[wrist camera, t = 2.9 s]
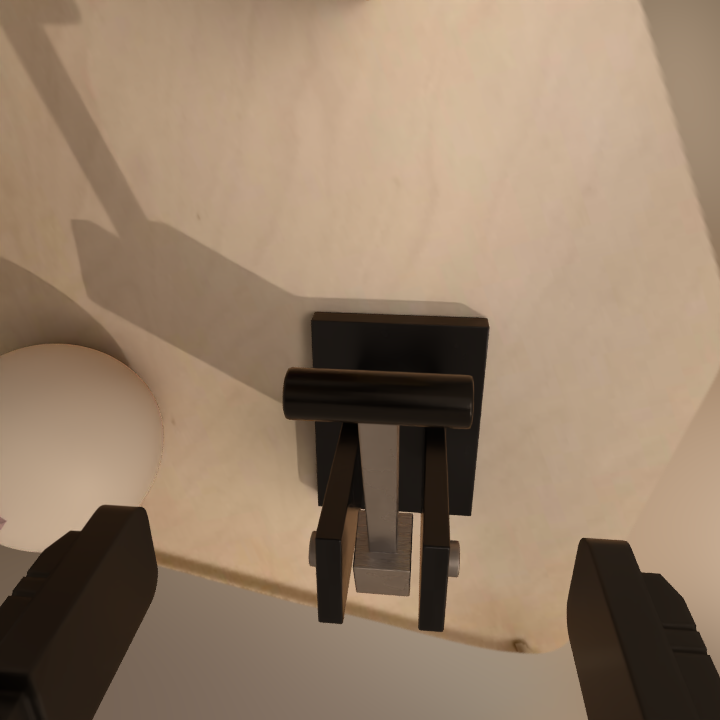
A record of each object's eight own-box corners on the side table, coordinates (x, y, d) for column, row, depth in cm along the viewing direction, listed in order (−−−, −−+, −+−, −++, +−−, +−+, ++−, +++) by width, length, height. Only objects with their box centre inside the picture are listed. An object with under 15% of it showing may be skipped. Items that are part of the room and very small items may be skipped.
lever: (291, 343, 17) (276, 415, 16) (473, 350, 17) (475, 425, 15) (329, 535, 28) (322, 590, 26) (444, 543, 27) (443, 599, 26)
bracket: (314, 311, 33) (253, 450, 22) (487, 318, 32) (518, 465, 21) (321, 493, 38) (274, 681, 27) (469, 503, 38) (486, 701, 26)
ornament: (11, 434, 39) (-148, 580, 28) (28, 288, 34) (-155, 397, 24) (169, 489, 40) (72, 653, 29) (207, 354, 35) (107, 488, 24)
